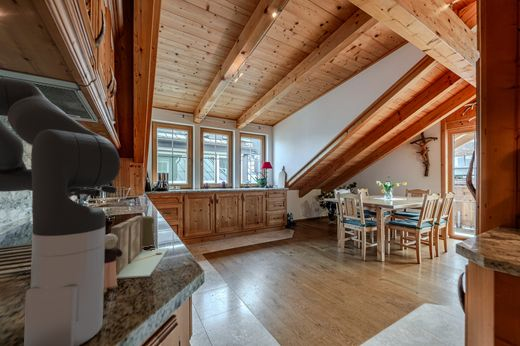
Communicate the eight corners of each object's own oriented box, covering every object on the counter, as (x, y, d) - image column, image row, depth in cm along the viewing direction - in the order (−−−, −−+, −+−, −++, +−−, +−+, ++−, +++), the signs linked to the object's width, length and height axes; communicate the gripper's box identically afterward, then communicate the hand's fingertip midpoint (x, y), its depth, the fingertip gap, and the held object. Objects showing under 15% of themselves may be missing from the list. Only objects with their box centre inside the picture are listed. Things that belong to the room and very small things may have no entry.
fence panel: (129, 262, 66) (130, 221, 67) (122, 262, 66) (124, 221, 66) (141, 250, 77) (142, 215, 77) (136, 250, 77) (137, 215, 77)
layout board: (149, 276, 59) (149, 274, 59) (100, 279, 57) (100, 277, 57) (168, 249, 81) (168, 247, 81) (134, 250, 79) (134, 249, 79)
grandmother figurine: (100, 297, 48) (102, 238, 49) (86, 295, 49) (87, 237, 50) (128, 281, 56) (129, 230, 56) (115, 280, 57) (116, 229, 57)
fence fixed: (117, 275, 58) (118, 227, 59) (109, 276, 58) (110, 227, 58) (128, 264, 66) (130, 221, 66) (122, 264, 66) (123, 221, 66)
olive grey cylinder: (151, 242, 90) (152, 214, 90) (156, 245, 85) (157, 216, 86) (134, 245, 86) (135, 216, 86) (139, 249, 81) (140, 218, 82)
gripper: (39, 173, 67) (95, 182, 68) (75, 172, 81) (121, 179, 82) (35, 198, 67) (91, 206, 68) (72, 192, 81) (118, 199, 82)
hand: (108, 191), depth 75 cm, fingers open, 8 cm apart
